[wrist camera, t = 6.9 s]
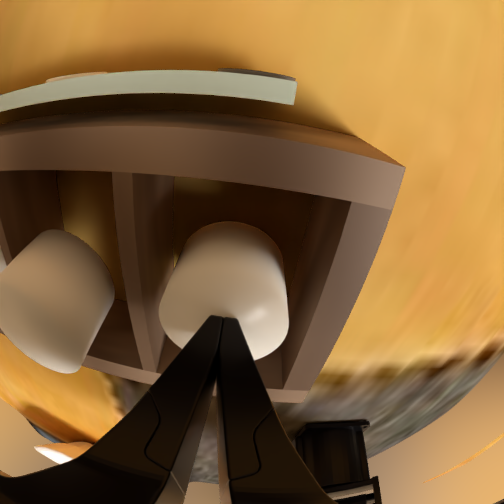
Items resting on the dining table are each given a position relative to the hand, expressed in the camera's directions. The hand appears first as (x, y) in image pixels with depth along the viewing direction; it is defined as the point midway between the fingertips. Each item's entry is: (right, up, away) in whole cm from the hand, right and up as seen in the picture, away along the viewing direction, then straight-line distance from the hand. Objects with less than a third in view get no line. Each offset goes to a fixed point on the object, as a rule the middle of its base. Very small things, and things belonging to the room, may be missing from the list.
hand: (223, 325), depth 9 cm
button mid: (-6, +1, +1) cm, 6 cm away
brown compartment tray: (-6, +3, +4) cm, 7 cm away
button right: (0, +2, +2) cm, 3 cm away
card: (-5, +9, 0) cm, 10 cm away
